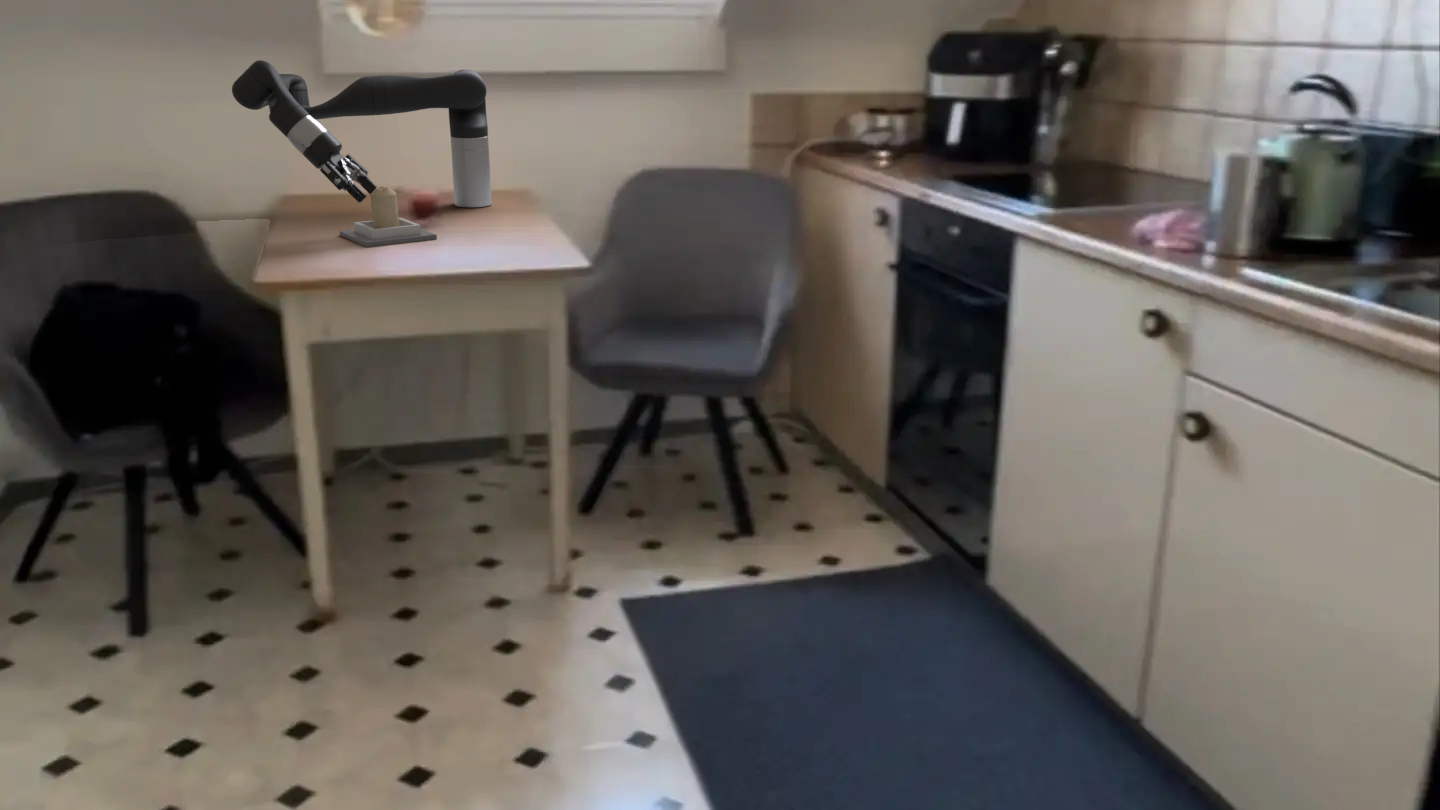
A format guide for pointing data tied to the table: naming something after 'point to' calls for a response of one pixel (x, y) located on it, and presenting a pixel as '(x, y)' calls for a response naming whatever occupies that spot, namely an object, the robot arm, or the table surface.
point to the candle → (384, 208)
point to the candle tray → (387, 233)
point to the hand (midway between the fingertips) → (369, 196)
